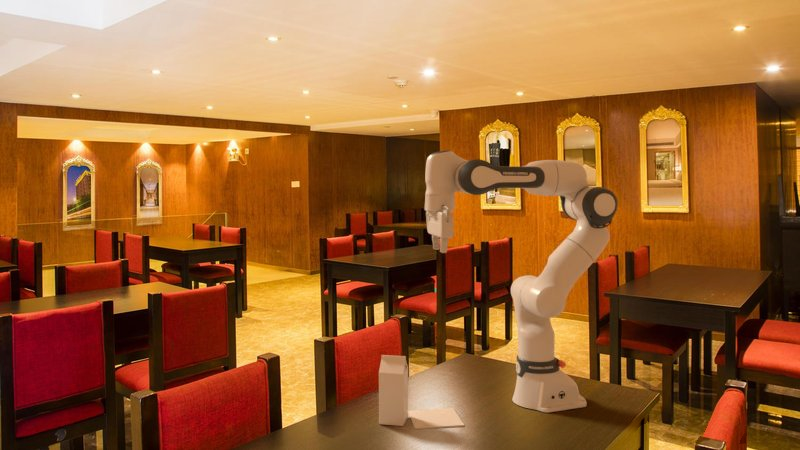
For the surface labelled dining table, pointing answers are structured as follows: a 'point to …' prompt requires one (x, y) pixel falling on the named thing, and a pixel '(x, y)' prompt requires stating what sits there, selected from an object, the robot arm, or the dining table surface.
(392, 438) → the dining table surface
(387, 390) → the milk carton
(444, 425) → the mat
